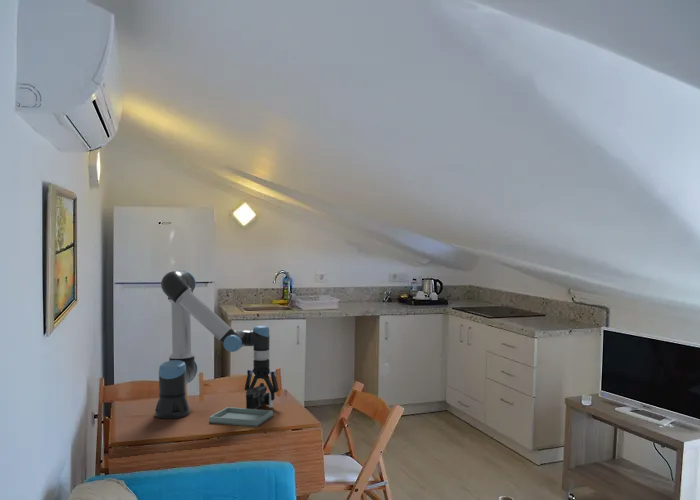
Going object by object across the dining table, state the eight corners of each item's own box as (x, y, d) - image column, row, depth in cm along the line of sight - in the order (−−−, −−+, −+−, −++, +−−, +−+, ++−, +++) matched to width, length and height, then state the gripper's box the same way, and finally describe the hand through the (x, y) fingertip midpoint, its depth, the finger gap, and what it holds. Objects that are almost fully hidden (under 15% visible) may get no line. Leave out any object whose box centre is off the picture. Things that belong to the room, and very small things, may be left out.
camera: (262, 413, 270) (262, 391, 270) (244, 411, 272) (244, 389, 272) (277, 403, 287) (277, 382, 287) (259, 402, 289) (259, 381, 289)
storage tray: (209, 422, 255) (209, 416, 255) (227, 412, 270) (227, 407, 270) (257, 426, 248) (257, 420, 248) (272, 416, 264) (272, 410, 264)
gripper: (285, 358, 280) (285, 405, 280) (244, 356, 286) (244, 402, 286) (279, 361, 273) (279, 409, 273) (236, 359, 279) (236, 406, 279)
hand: (261, 406), depth 280 cm, fingers closed on camera, 9 cm apart
